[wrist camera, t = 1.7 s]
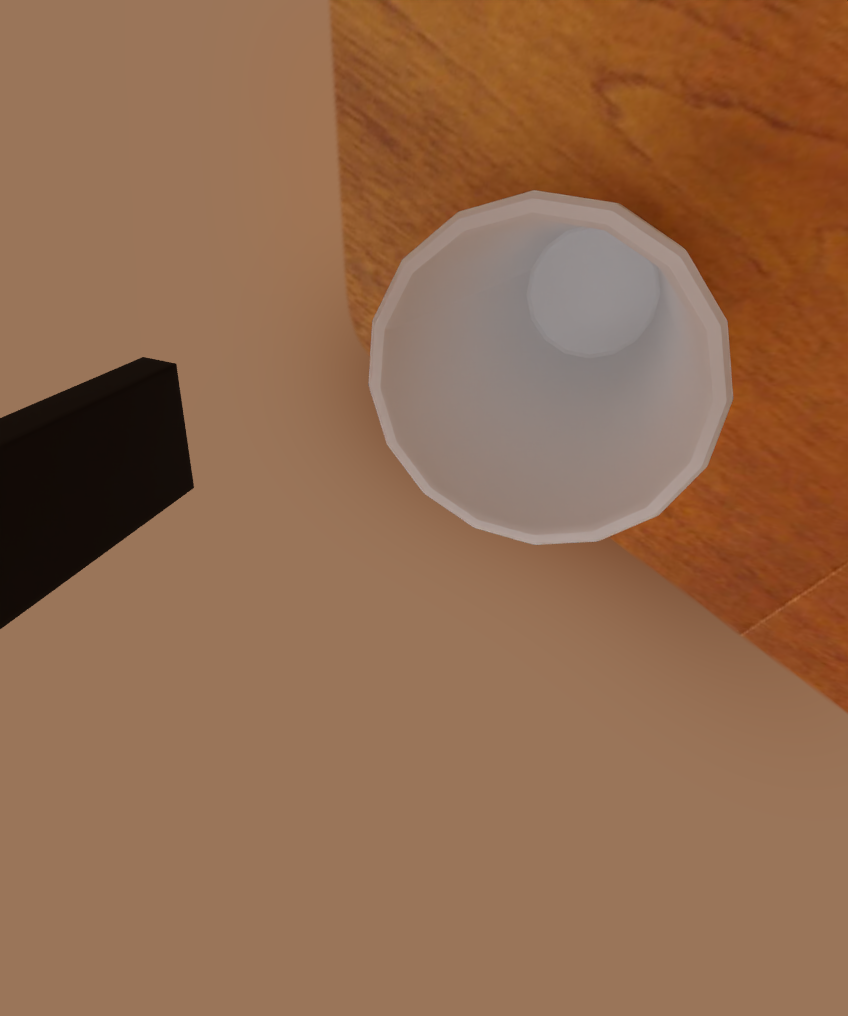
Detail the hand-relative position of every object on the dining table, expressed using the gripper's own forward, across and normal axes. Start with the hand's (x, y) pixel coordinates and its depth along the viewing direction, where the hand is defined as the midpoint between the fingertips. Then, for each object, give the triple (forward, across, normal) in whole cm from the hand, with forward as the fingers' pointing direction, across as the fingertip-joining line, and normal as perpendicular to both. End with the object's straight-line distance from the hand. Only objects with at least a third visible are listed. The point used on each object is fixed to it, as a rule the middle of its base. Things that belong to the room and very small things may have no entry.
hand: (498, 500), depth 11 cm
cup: (+20, -1, -1) cm, 21 cm away
